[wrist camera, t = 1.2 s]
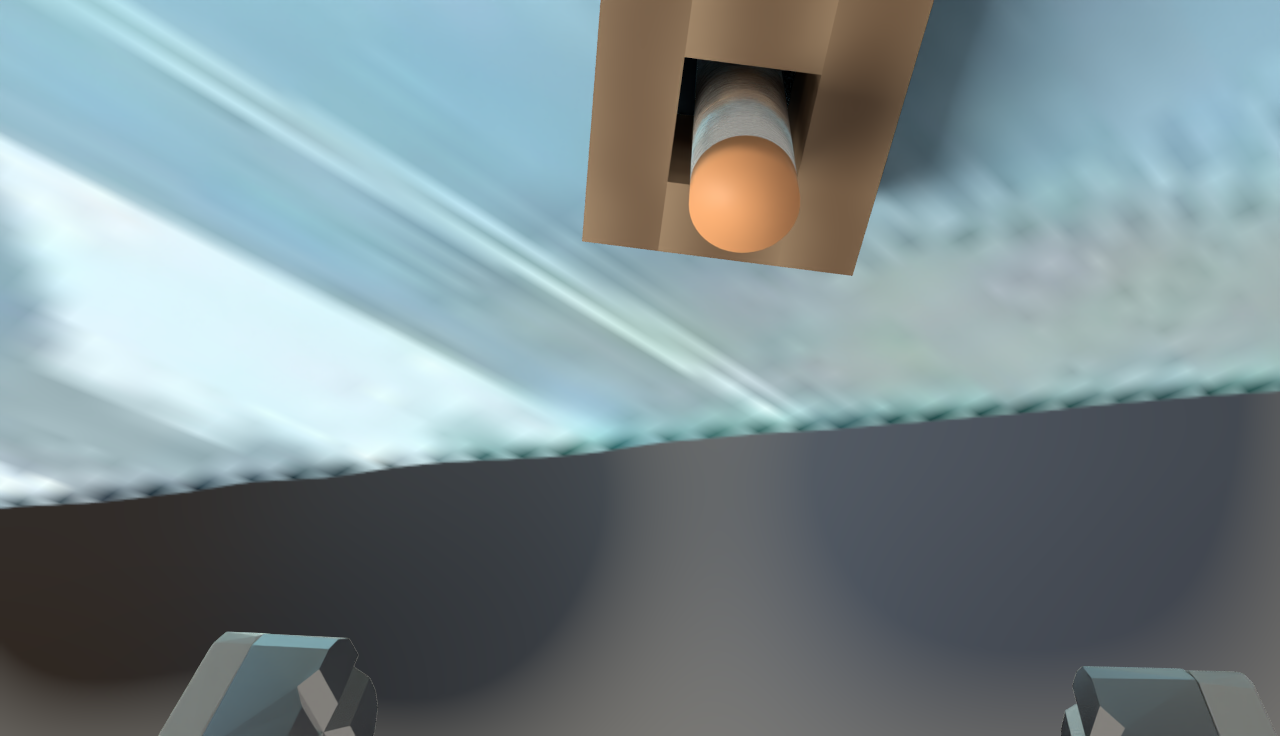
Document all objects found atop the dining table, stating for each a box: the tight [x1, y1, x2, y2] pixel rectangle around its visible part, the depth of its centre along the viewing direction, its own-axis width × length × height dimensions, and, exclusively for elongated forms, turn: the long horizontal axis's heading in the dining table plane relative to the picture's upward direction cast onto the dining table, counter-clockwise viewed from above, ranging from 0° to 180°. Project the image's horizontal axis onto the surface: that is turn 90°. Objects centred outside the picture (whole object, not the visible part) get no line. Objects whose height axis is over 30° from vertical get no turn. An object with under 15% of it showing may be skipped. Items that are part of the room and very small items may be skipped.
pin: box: [689, 59, 800, 253], centre depth 31 cm, size 3×3×11 cm
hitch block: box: [582, 0, 934, 276], centre depth 33 cm, size 10×10×6 cm
